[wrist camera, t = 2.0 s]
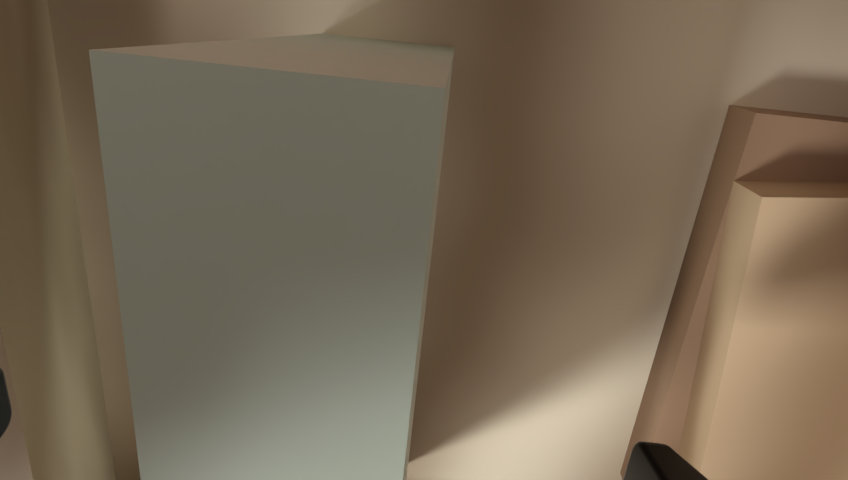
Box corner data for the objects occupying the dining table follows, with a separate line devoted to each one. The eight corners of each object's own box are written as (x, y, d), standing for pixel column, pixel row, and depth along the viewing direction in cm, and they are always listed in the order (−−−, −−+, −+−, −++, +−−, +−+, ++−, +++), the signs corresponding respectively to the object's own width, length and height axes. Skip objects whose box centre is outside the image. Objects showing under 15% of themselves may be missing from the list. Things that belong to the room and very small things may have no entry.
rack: (106, 480, 16) (18, 595, 13) (7, -174, 10) (-201, -264, 7) (722, 557, 16) (790, 695, 13) (985, -77, 10) (1242, -125, 7)
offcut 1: (619, 472, 14) (631, 505, 13) (729, 105, 10) (755, 113, 9) (782, 492, 14) (805, 526, 13) (945, 127, 10) (992, 138, 9)
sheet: (310, 451, 14) (182, 820, 8) (322, 33, 10) (88, 50, 4) (408, 462, 14) (362, 844, 7) (455, 47, 10) (445, 87, 4)
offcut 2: (665, 515, 13) (681, 553, 12) (734, 180, 10) (761, 197, 9) (827, 522, 13) (856, 562, 12) (944, 183, 10) (997, 199, 9)
